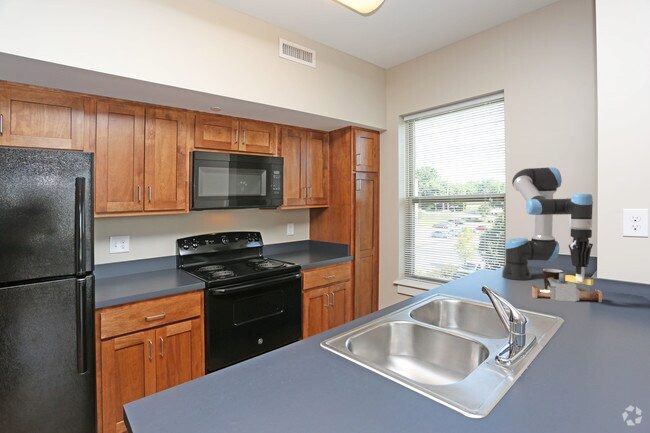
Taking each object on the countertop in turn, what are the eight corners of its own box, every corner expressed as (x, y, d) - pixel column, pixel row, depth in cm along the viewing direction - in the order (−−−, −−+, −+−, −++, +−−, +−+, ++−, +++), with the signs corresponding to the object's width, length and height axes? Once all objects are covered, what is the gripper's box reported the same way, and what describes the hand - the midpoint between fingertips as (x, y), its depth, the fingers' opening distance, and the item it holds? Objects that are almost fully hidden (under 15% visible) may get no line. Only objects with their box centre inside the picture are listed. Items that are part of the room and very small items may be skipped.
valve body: (531, 294, 164) (531, 278, 164) (595, 298, 155) (596, 281, 155) (535, 299, 157) (535, 282, 157) (603, 303, 148) (603, 285, 148)
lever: (557, 281, 157) (557, 273, 157) (561, 280, 158) (561, 272, 158) (590, 287, 145) (590, 278, 145) (593, 286, 147) (593, 277, 147)
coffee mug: (538, 288, 174) (538, 269, 173) (548, 286, 177) (549, 268, 177) (562, 294, 163) (562, 274, 163) (572, 291, 167) (573, 272, 166)
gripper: (580, 229, 141) (579, 284, 142) (599, 228, 146) (598, 281, 147) (562, 228, 148) (561, 280, 149) (581, 227, 153) (580, 278, 154)
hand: (579, 281), depth 148 cm, fingers closed
